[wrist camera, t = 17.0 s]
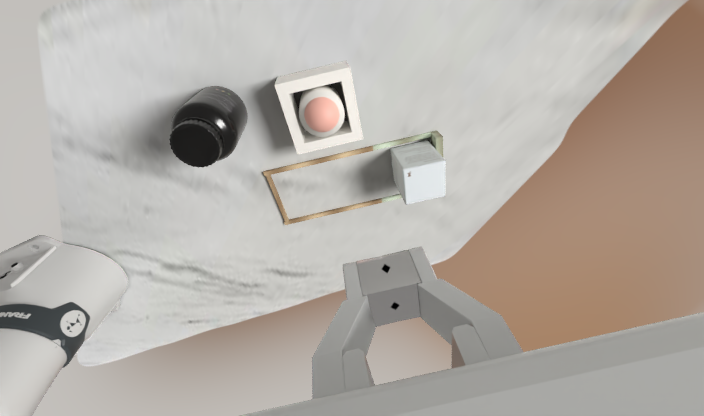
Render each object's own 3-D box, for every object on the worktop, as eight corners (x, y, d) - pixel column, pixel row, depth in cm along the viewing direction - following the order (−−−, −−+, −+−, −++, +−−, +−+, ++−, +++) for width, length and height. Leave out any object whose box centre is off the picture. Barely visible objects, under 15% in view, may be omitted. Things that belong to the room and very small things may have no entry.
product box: (393, 181, 49) (404, 205, 43) (389, 147, 46) (401, 169, 40) (429, 173, 49) (446, 197, 43) (428, 139, 46) (446, 159, 40)
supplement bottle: (242, 142, 43) (223, 185, 33) (190, 125, 41) (153, 165, 31) (254, 96, 39) (236, 128, 30) (198, 75, 37) (159, 102, 27)
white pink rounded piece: (306, 129, 42) (306, 146, 37) (294, 88, 39) (292, 101, 34) (345, 119, 42) (350, 136, 37) (336, 78, 39) (340, 90, 34)
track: (285, 223, 52) (284, 232, 50) (263, 171, 46) (261, 179, 44) (438, 187, 51) (443, 195, 49) (436, 130, 45) (442, 136, 43)
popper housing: (298, 141, 44) (297, 154, 40) (277, 77, 38) (274, 85, 35) (358, 127, 43) (363, 139, 40) (345, 60, 38) (350, 67, 35)
